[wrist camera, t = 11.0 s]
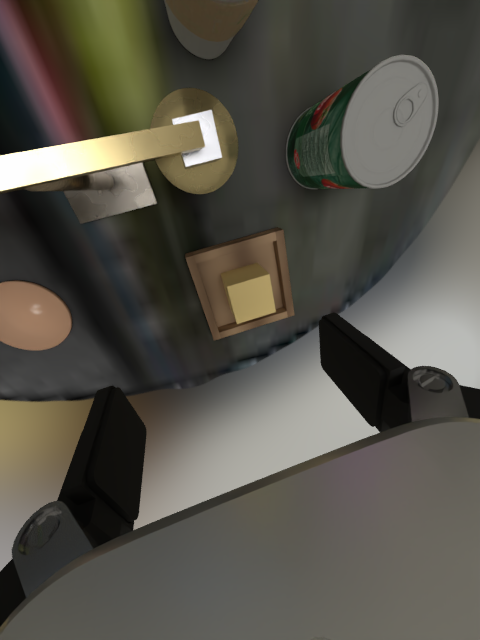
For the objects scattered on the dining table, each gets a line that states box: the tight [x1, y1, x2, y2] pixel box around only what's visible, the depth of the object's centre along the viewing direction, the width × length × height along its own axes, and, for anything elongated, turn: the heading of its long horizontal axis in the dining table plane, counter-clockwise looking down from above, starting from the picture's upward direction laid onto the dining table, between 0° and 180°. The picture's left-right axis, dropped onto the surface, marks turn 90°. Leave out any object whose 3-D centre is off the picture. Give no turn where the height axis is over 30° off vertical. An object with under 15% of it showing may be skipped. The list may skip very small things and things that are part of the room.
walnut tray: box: [185, 227, 294, 340], centre depth 32 cm, size 12×12×2 cm
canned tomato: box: [285, 55, 438, 189], centre depth 23 cm, size 8×8×11 cm
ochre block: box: [220, 263, 276, 324], centre depth 31 cm, size 5×5×5 cm
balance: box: [0, 88, 238, 224], centre depth 17 cm, size 23×6×18 cm, turn 103°
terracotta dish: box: [0, 280, 72, 350], centre depth 29 cm, size 9×9×1 cm
